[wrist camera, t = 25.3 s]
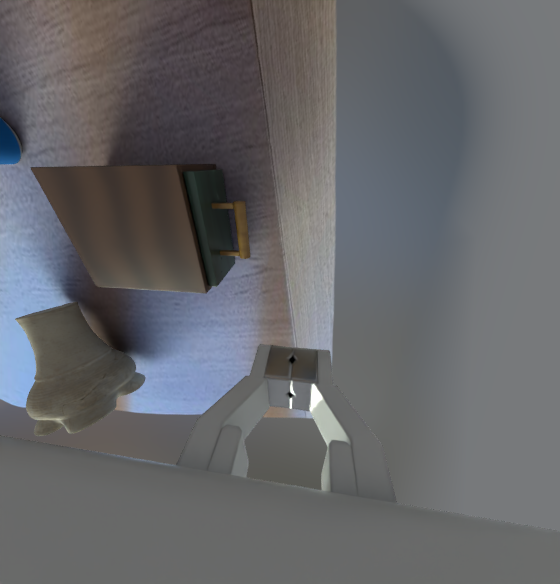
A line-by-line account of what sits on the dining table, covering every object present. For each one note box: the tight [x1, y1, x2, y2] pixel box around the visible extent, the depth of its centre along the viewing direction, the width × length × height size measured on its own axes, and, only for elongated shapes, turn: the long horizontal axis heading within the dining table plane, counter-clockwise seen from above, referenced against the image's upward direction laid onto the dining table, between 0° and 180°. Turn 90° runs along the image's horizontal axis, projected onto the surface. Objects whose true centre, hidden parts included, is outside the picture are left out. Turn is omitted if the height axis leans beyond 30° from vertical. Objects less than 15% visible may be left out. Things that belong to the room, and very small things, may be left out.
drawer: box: [183, 169, 250, 287], centre depth 28 cm, size 20×13×8 cm
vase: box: [15, 302, 145, 436], centre depth 43 cm, size 22×22×28 cm
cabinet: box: [31, 164, 216, 293], centre depth 29 cm, size 17×15×10 cm
